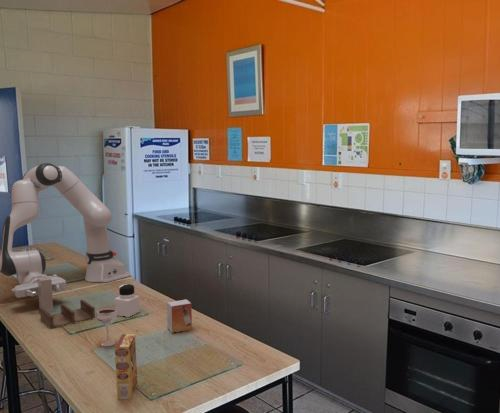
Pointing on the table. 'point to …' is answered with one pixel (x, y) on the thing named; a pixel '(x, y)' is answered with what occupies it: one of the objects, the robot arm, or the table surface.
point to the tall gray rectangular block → (45, 294)
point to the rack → (68, 315)
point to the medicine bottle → (127, 301)
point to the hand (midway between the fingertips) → (45, 292)
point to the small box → (179, 316)
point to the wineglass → (107, 321)
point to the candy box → (126, 366)
